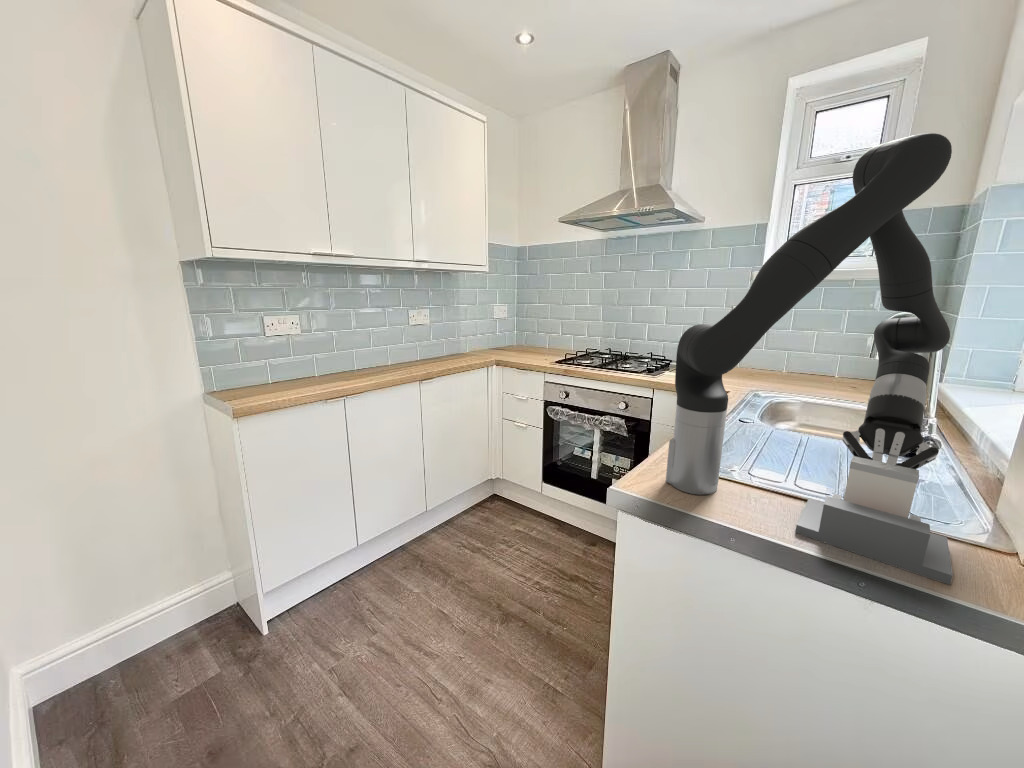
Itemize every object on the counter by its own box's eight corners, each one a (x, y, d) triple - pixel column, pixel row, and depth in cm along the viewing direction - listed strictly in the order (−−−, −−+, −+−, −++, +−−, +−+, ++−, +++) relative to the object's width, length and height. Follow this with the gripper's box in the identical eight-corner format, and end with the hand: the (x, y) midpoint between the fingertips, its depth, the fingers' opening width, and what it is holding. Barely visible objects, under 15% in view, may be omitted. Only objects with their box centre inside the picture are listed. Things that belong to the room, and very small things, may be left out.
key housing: (795, 532, 68) (801, 497, 67) (807, 505, 77) (813, 473, 75) (950, 585, 56) (962, 543, 55) (944, 545, 65) (955, 508, 63)
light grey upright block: (839, 515, 70) (850, 461, 67) (841, 508, 72) (852, 455, 69) (904, 534, 64) (919, 476, 62) (904, 526, 66) (918, 470, 64)
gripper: (850, 387, 76) (829, 468, 70) (953, 400, 67) (939, 494, 61) (848, 408, 81) (828, 486, 75) (943, 423, 72) (929, 512, 66)
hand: (878, 489), depth 68 cm, fingers closed
